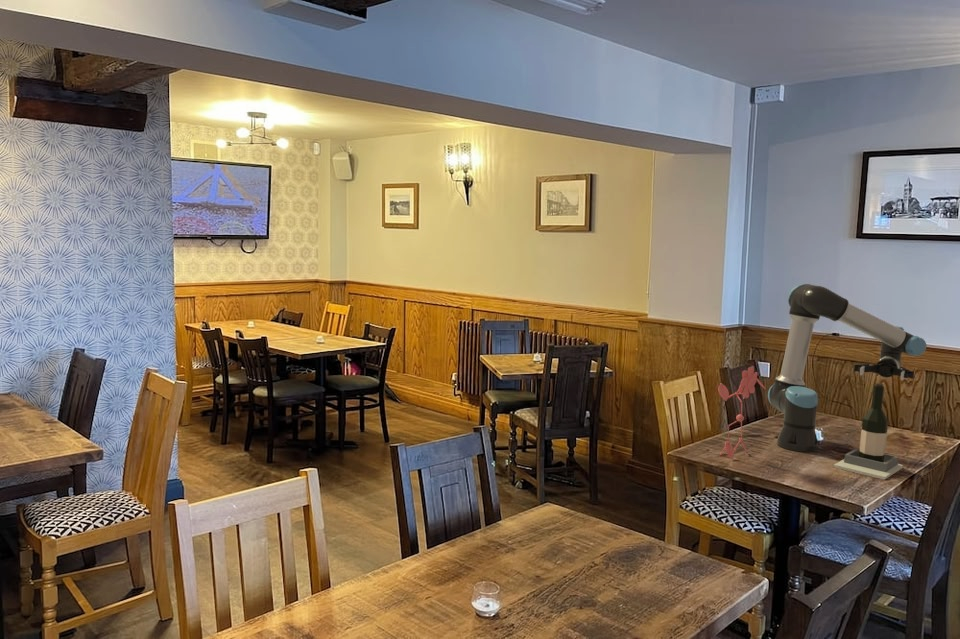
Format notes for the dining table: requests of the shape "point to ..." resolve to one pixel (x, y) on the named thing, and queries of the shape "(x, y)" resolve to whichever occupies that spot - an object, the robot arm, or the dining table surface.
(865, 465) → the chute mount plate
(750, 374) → the pink wire flower sculpture
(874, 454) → the wine bottle
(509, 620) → the dining table surface
